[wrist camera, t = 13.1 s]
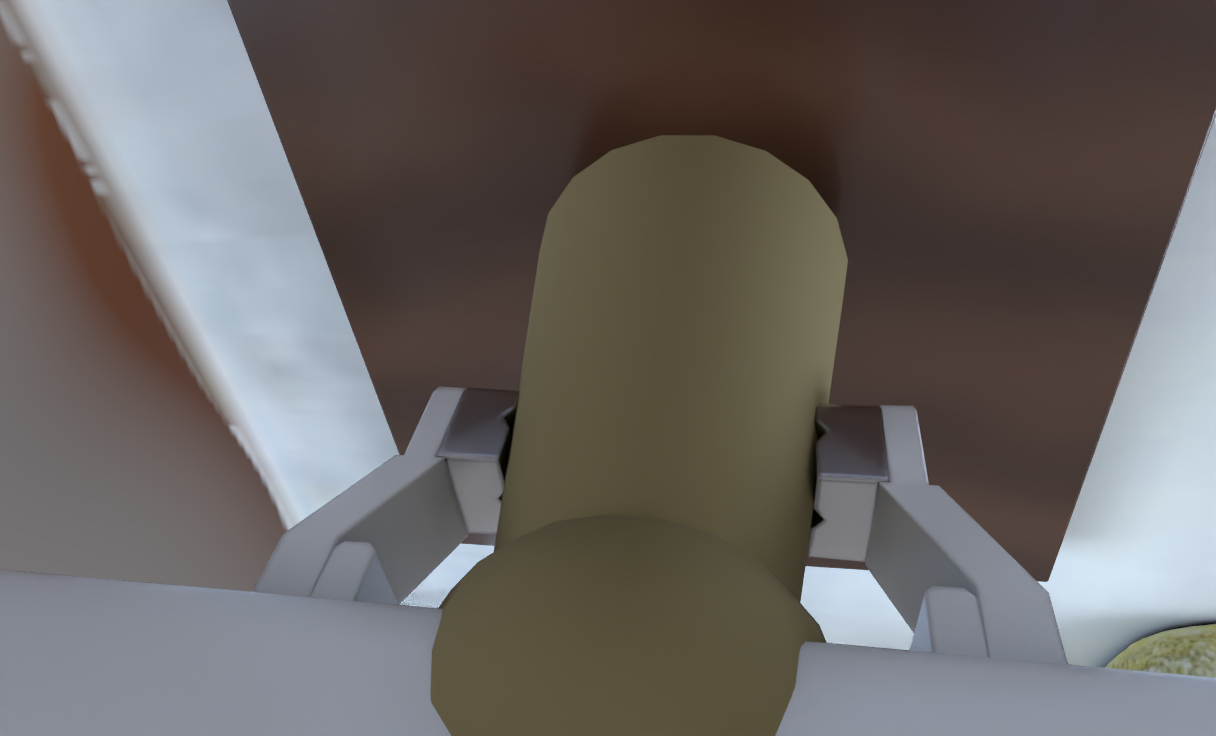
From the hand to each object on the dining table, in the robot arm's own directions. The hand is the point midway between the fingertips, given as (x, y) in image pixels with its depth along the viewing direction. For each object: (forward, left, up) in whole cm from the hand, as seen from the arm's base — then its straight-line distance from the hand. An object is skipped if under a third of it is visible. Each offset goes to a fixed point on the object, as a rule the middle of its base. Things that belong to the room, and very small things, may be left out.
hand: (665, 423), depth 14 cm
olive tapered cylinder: (0, 0, -4) cm, 4 cm away
